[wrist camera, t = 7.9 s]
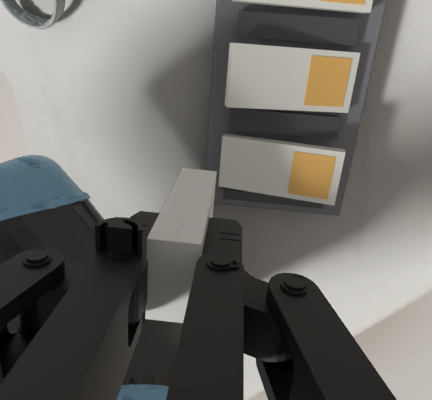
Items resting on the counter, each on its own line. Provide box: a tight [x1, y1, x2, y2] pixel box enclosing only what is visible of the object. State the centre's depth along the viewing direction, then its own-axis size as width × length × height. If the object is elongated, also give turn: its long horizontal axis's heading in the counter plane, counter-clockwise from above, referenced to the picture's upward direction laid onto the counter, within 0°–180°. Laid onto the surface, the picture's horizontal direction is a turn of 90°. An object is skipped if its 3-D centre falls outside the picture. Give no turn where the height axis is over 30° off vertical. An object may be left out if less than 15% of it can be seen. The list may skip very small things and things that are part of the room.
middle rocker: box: [225, 43, 360, 113], centre depth 32 cm, size 5×11×1 cm, turn 86°
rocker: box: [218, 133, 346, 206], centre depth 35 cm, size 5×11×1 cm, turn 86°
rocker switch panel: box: [206, 0, 386, 216], centre depth 35 cm, size 26×14×4 cm, turn 176°
